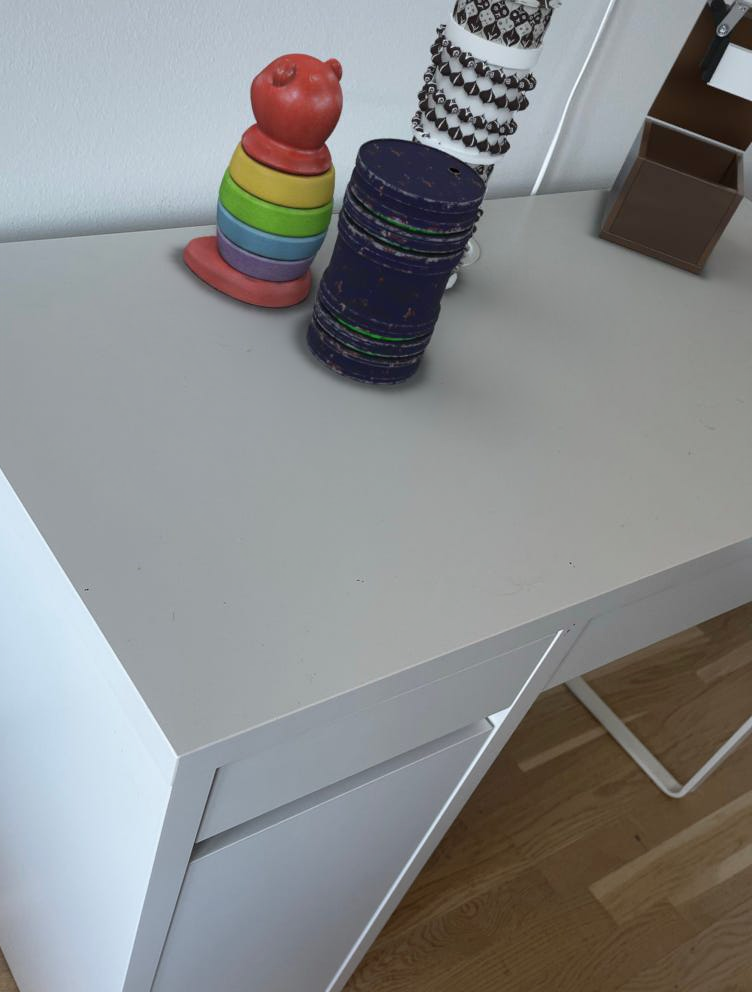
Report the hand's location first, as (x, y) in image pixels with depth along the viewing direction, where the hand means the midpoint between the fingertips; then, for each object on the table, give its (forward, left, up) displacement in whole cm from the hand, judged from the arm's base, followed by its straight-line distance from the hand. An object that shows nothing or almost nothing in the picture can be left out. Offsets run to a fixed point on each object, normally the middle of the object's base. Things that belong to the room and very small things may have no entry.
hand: (732, 87), depth 99 cm
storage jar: (-4, +49, -17) cm, 52 cm away
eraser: (0, 0, -1) cm, 1 cm away
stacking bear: (+8, +51, -17) cm, 55 cm away
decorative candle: (+5, +34, -17) cm, 39 cm away
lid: (+3, -5, -1) cm, 6 cm away
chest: (+2, -3, -16) cm, 17 cm away
